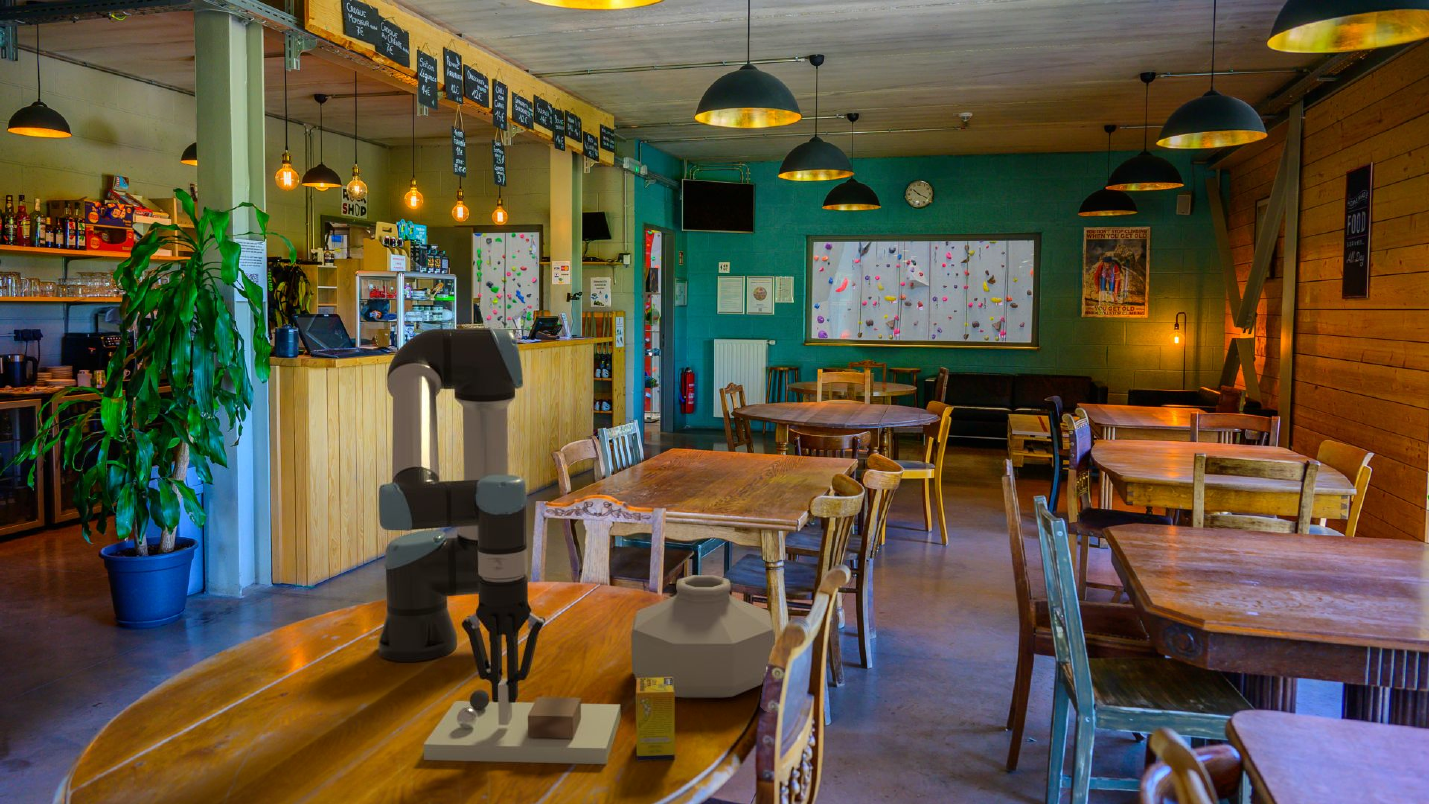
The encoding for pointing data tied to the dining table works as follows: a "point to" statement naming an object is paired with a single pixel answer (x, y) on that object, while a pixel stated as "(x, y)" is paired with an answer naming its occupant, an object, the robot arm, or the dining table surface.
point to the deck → (522, 737)
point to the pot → (703, 640)
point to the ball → (467, 718)
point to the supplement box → (655, 718)
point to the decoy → (479, 699)
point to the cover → (554, 717)
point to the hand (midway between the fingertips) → (505, 721)
